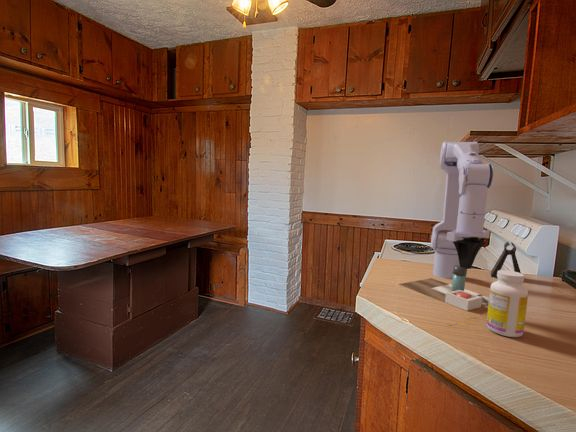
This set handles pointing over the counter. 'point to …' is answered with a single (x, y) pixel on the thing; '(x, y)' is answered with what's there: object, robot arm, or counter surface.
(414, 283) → the drawing board
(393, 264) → the counter surface
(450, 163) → the robot arm
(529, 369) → the counter surface
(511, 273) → the supplement bottle
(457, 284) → the marker
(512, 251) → the black spring clamp
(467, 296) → the button
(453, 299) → the button housing
